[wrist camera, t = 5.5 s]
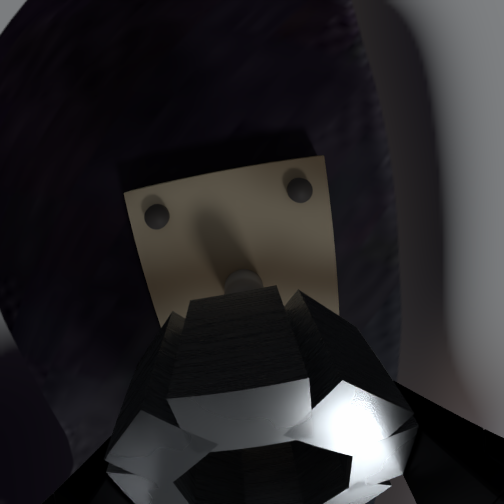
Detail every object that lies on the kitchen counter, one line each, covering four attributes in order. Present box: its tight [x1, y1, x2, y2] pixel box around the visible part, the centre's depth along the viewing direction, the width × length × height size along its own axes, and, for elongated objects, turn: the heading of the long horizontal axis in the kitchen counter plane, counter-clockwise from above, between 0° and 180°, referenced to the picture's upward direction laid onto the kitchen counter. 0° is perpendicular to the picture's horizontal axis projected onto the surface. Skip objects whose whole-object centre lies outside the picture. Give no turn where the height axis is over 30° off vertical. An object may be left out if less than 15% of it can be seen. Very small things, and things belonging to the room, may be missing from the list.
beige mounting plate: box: [124, 156, 339, 328], centre depth 15 cm, size 12×10×5 cm
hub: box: [104, 285, 419, 504], centre depth 7 cm, size 7×7×4 cm
